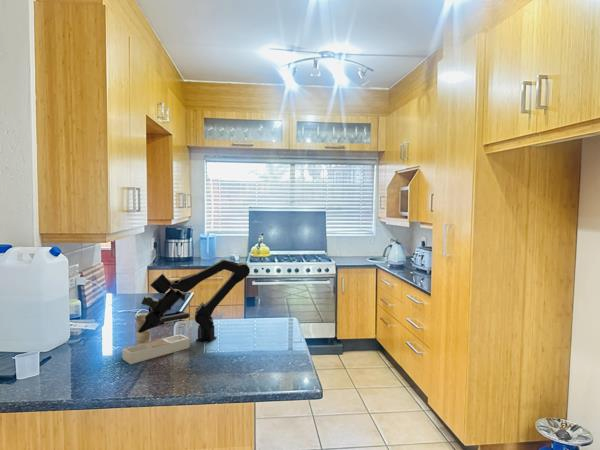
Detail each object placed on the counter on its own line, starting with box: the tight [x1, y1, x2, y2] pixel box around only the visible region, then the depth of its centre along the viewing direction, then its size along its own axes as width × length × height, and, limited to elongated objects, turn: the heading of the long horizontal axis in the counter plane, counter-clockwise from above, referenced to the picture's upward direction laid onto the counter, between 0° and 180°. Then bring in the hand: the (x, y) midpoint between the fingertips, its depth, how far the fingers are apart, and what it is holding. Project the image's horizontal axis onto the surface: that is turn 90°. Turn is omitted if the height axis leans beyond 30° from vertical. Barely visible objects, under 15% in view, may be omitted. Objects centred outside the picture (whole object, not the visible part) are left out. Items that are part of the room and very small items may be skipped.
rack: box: [121, 333, 190, 365], centre depth 157 cm, size 24×7×4 cm, turn 136°
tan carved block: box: [135, 312, 152, 345], centre depth 166 cm, size 5×4×13 cm
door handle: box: [159, 310, 191, 325], centre depth 204 cm, size 3×20×16 cm
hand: (140, 328), depth 166 cm, fingers open, 9 cm apart
